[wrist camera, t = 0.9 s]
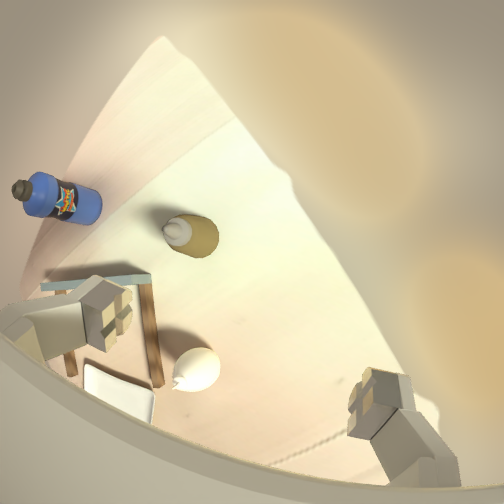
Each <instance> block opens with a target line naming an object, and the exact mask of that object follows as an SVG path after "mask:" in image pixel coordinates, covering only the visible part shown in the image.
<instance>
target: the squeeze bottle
mask: <svg viewBox="0 0 504 504" xmlns="http://www.w3.org/2000/svg"><path fill="white" fill-rule="evenodd" d="M162 231H163V235H164V238H165V240H166V241H167V243H168V245H169V246H170V247H171V248H172V249H173V250H175V251H177V252H180V253H183V254H185V255H188V256H191V257H194V258H204V257H206V256H208V255H210V254H211V253H212V252H213V251H214V250H215V249H216V247H217V245H218V242H219V232H218V230H217V227H216V225H215V224H214V223H213V222H212V221H211V220H210V219H207V218H205V217H201V216H194V215H186V214H185V215H178V216H176V217H174V218H172V219H170V220H169V221H168V222H167V223H166V224H165V225H164V226H163V227H162Z"/></svg>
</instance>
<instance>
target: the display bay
mask: <svg viewBox="0 0 504 504" xmlns="http://www.w3.org/2000/svg"><path fill="white" fill-rule="evenodd" d="M103 278H105V279H108V280H110V281H112V282H114V283H117V284H119V285H121V286H124V285H137V284H139V291H140V301H141V310H142V318H143V326H144V334H145V341H146V348H147V354H148V361H149V367H150V373H151V378H152V384H153V388H160V387H161V386H163V385H164V384H165V380H164V375H163V368H162V362H161V356H160V349H159V342H158V334H157V327H156V319H155V310H154V301H153V292H152V281H151V274H138V275H123V276H112V277H103ZM86 280H87V279H81V280H70V281H59V282H48V283H41V291H53V290H55V295H59V294H66V290H69V289H75V288H77V287H78V286H79V285H80V284H82V283H83V282H84V281H86ZM63 355H64V361H65V366H66V371H67V376H68V377H73V376H76V375H78V370H77V365H76V359H75V354H74V350H72V351H70V352H67V353H65V354H63Z"/></svg>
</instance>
